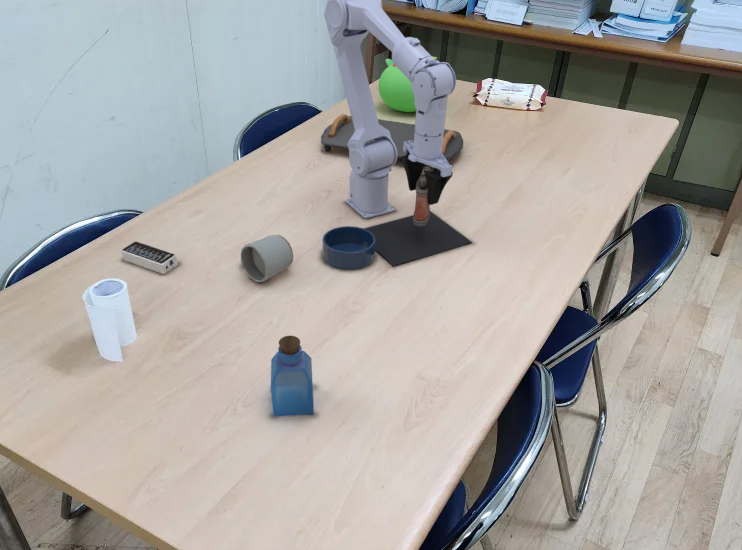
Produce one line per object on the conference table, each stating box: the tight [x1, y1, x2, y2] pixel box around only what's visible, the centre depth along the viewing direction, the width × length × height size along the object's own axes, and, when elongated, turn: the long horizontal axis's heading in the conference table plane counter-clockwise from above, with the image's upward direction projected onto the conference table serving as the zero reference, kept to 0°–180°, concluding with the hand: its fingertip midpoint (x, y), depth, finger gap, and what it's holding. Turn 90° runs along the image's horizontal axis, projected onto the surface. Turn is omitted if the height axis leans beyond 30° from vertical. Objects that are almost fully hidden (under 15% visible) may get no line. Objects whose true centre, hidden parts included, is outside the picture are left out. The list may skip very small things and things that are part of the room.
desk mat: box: [364, 210, 473, 268], centre depth 140 cm, size 16×20×1 cm
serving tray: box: [320, 113, 464, 162], centre depth 175 cm, size 39×23×6 cm, turn 69°
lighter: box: [412, 165, 431, 226], centre depth 134 cm, size 8×3×10 cm, turn 168°
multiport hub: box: [120, 240, 178, 275], centre depth 130 cm, size 4×11×2 cm, turn 62°
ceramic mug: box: [240, 234, 294, 283], centre depth 127 cm, size 11×8×8 cm
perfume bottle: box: [270, 335, 315, 417], centre depth 97 cm, size 6×6×12 cm
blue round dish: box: [321, 225, 376, 271], centre depth 133 cm, size 11×11×4 cm
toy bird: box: [378, 56, 438, 113], centre depth 194 cm, size 18×17×15 cm
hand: (423, 196), depth 135 cm, fingers closed on lighter, 6 cm apart
